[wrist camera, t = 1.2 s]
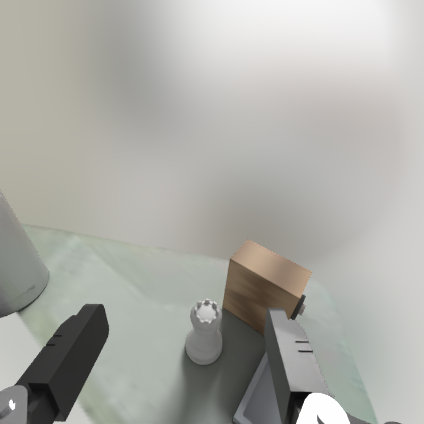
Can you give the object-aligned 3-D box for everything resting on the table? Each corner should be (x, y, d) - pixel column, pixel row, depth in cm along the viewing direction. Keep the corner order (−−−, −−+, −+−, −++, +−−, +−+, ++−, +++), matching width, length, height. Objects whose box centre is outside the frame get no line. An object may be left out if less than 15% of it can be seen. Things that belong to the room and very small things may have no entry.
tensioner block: (222, 306, 31) (230, 258, 25) (237, 287, 34) (247, 238, 28) (283, 349, 27) (309, 303, 21) (294, 323, 30) (320, 276, 24)
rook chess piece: (225, 332, 29) (232, 296, 24) (218, 371, 25) (224, 339, 20) (191, 322, 29) (192, 286, 24) (179, 360, 26) (177, 326, 21)
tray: (231, 420, 22) (233, 416, 21) (264, 353, 27) (267, 347, 26) (307, 491, 19) (313, 490, 18) (329, 400, 24) (334, 396, 23)
